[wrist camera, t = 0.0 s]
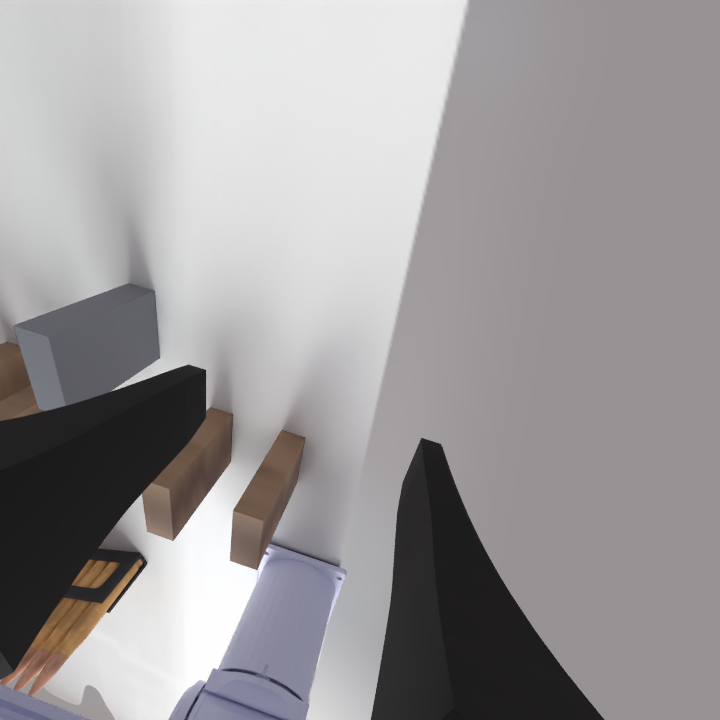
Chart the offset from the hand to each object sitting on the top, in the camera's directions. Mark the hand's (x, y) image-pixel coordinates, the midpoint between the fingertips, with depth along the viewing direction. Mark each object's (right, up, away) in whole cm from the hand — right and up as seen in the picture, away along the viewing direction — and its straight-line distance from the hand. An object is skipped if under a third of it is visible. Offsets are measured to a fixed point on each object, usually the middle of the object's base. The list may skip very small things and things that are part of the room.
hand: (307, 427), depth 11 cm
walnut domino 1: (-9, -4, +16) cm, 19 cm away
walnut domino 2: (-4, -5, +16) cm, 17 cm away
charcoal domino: (-13, +5, +12) cm, 18 cm away
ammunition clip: (-27, -20, +29) cm, 44 cm away
